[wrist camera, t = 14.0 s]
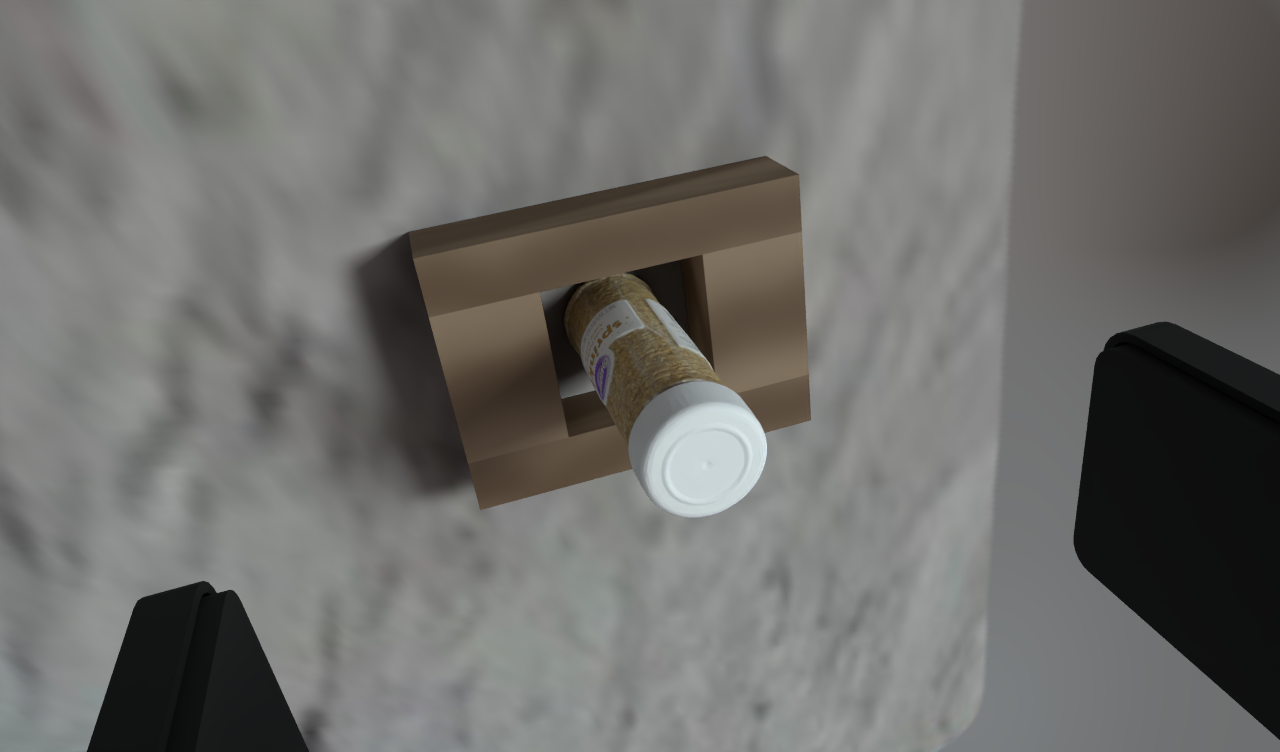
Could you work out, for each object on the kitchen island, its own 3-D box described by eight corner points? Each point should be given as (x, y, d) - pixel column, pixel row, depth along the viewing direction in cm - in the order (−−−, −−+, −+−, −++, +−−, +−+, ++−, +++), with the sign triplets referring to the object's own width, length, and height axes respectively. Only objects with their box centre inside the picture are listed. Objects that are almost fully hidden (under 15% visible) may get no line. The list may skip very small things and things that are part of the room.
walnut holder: (408, 232, 38) (412, 258, 34) (765, 156, 40) (798, 174, 37) (471, 469, 43) (480, 510, 40) (781, 387, 46) (810, 420, 43)
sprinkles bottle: (556, 278, 40) (636, 421, 29) (654, 260, 41) (770, 392, 30) (568, 369, 42) (647, 536, 31) (661, 350, 43) (772, 506, 32)
